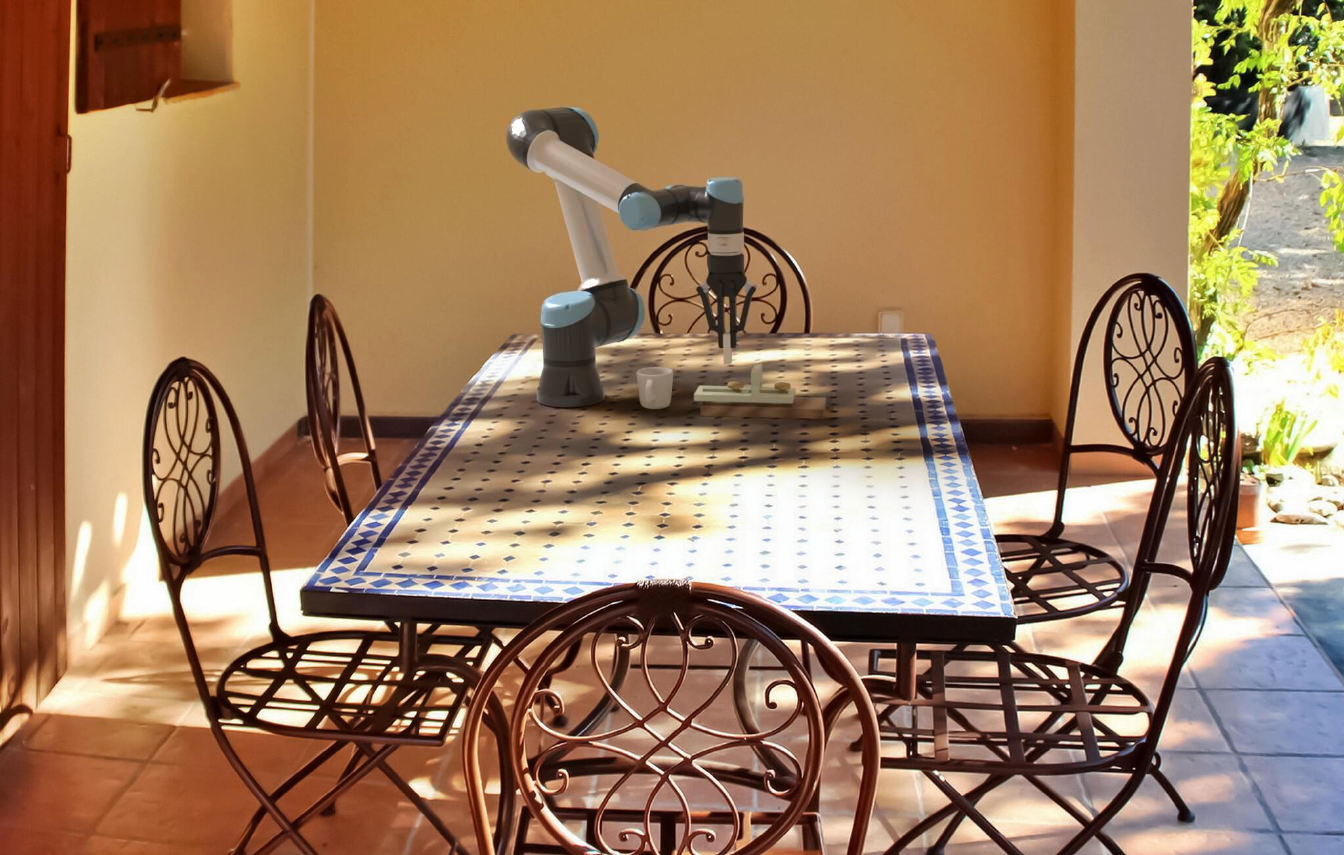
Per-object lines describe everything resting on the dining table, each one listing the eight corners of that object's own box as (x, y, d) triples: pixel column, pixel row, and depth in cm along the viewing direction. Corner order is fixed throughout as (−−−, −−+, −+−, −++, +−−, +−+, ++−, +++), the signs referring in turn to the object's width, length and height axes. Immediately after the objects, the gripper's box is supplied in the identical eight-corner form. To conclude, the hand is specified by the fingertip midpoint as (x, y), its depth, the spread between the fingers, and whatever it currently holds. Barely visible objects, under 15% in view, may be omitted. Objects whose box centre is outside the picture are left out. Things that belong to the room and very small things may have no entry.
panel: (693, 400, 306) (693, 370, 304) (699, 391, 314) (698, 362, 312) (792, 403, 303) (792, 372, 301) (795, 394, 310) (795, 364, 309)
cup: (667, 415, 306) (666, 379, 304) (630, 414, 308) (629, 377, 306) (677, 402, 316) (676, 367, 314) (641, 401, 318) (640, 366, 316)
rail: (700, 415, 306) (700, 388, 304) (706, 403, 315) (706, 376, 314) (823, 418, 302) (823, 391, 300) (825, 406, 311) (826, 379, 309)
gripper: (692, 255, 298) (695, 366, 304) (755, 255, 296) (756, 367, 302) (697, 250, 305) (700, 359, 311) (758, 250, 303) (760, 359, 309)
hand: (727, 362), depth 307 cm, fingers closed
